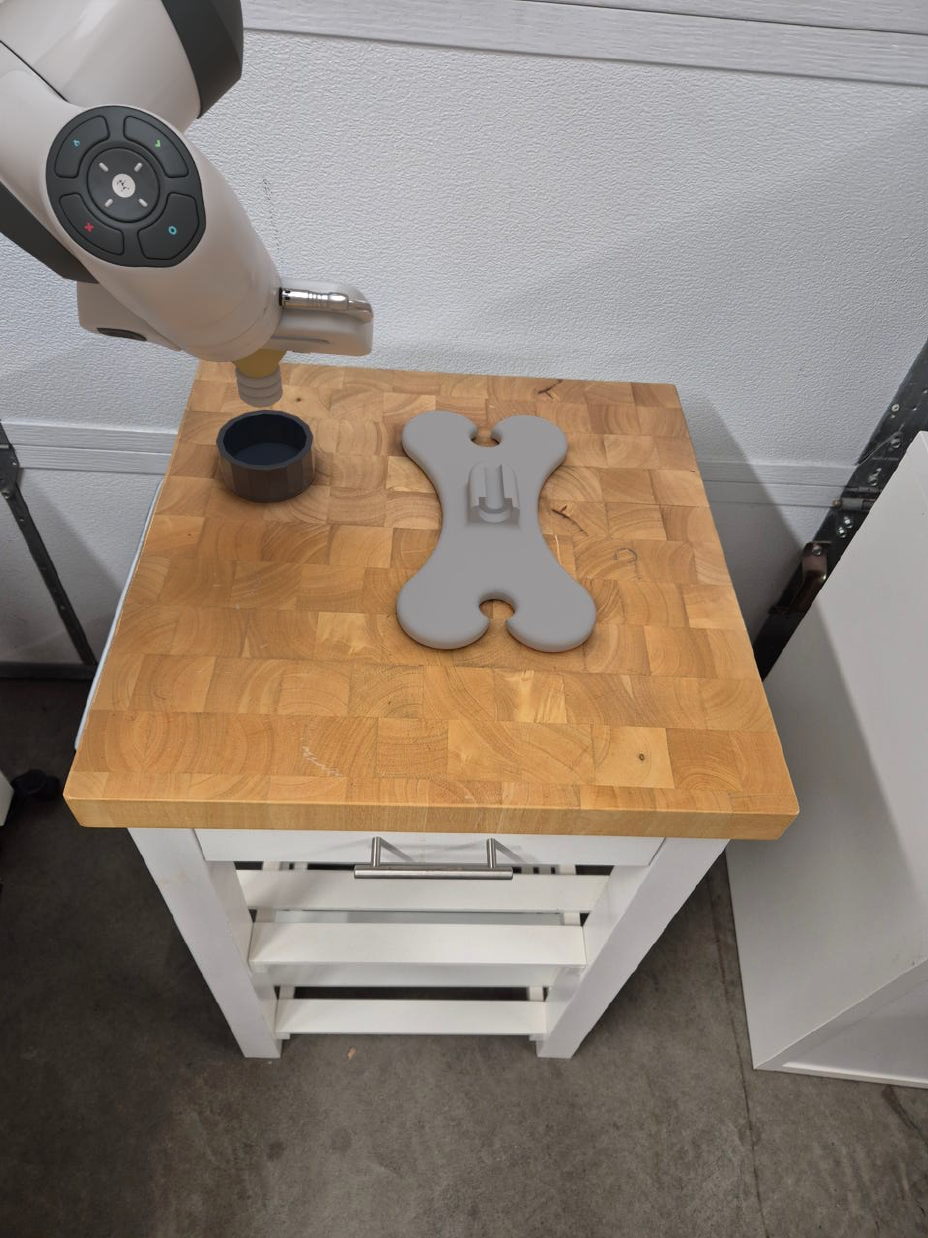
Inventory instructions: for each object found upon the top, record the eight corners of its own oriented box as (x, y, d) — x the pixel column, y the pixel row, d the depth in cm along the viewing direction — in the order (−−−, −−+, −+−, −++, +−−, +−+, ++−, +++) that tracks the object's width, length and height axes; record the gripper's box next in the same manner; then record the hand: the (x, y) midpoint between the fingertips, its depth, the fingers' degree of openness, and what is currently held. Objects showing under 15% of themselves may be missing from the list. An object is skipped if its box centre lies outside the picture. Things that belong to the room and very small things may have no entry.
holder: (561, 427, 98) (569, 392, 94) (599, 656, 76) (611, 623, 72) (402, 419, 96) (403, 383, 92) (395, 651, 75) (395, 616, 71)
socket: (214, 499, 85) (207, 465, 82) (232, 439, 91) (226, 406, 88) (308, 505, 86) (306, 472, 82) (320, 445, 92) (318, 413, 88)
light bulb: (229, 375, 73) (211, 267, 65) (301, 378, 73) (292, 272, 66) (219, 420, 69) (199, 310, 61) (296, 422, 69) (285, 314, 62)
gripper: (373, 252, 54) (383, 310, 67) (55, 224, 53) (132, 289, 66) (367, 350, 54) (379, 388, 68) (54, 325, 53) (130, 368, 67)
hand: (255, 339), depth 67 cm, fingers closed on light bulb, 6 cm apart
